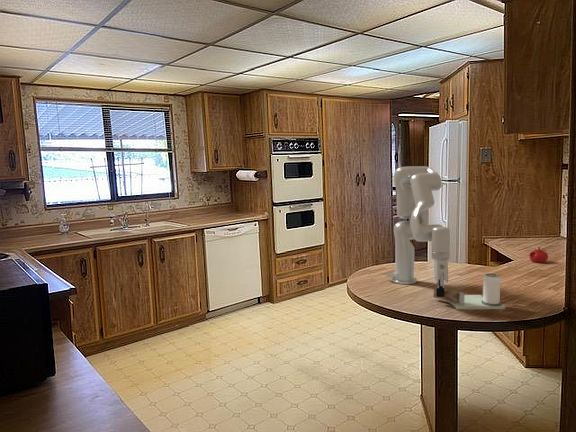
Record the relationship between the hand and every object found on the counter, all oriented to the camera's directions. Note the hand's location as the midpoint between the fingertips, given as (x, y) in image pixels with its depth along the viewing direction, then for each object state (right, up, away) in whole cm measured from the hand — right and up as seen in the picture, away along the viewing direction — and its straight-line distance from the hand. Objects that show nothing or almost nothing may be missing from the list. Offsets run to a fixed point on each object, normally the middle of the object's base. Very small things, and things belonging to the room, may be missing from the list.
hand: (440, 296), depth 191 cm
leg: (+3, -2, +2) cm, 4 cm away
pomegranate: (+85, +7, +72) cm, 112 cm away
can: (+21, -2, -4) cm, 21 cm away
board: (+15, -3, +1) cm, 15 cm away
